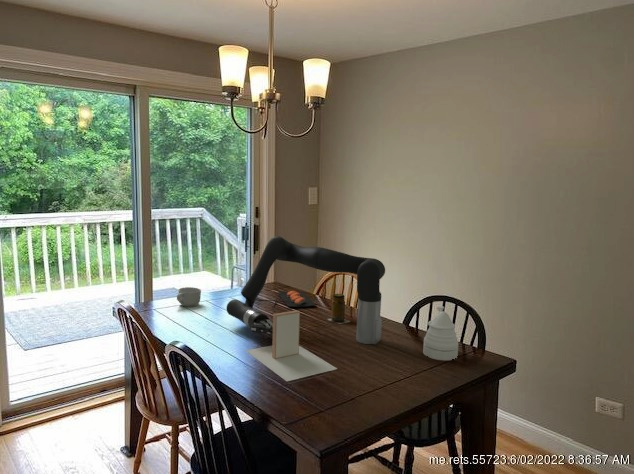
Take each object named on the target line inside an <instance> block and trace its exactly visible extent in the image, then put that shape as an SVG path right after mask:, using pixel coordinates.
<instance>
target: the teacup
mask: <svg viewBox="0 0 634 474" xmlns="http://www.w3.org/2000/svg"><path fill="white" fill-rule="evenodd" d="M201 294H202V289H201V288H198V287H193V286H192V287H191V286H190V287H189V286H188V287H187V286H186V287H181V288H179V289H178V293H177V294H176V300H177V301H178V303H179V304H180V305H181V306H183V307H185V308H191V307H192V308H193V307H196V306H197V305H198V304H200V302H201Z"/></svg>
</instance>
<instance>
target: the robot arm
mask: <svg viewBox="0 0 634 474" xmlns="http://www.w3.org/2000/svg"><path fill="white" fill-rule="evenodd" d="M276 260H277V261H283V262H290V263H297V264H301V265H303V266H307V267H309V268H312V269H317V270H319V271H324V272H326V273H327V272H329V273H344V274H345V273H346V274H347V273H349V274H353V275H356V292H357V296H358V297H357V313H356V315H357V317H356V335H355V336H356V337H355V340H356V341H357V342H358V343H360V344H364V345H377V344H378V343H379V342H381V340H382V326H383V325H382V323H383V317H381V311H382V310H381V309H382V308H381V307H382V292H381V291H380V285H381V284H380V281H381V279H383V277H384V276H385V274H386V266H385V264H384V263H383V262H382V261H380V259H377V258H373V257H361V256H356V255H351V254H348V253H345V252H341V251H337V250H333V249H329V248H326V247H325V248H324V247H319V246H306V247H305V246H301V245H298V244H295V243H293V242H290V241H288V240H287V239H285V238H283V237H282V236H279V235H277V236H273V237H271V238H269V240H268V242H267V243H266V245H265V248H264V250H263V252H262V254H261V256H260V258H259V260H258V262H257V265H256V267H255V268H254V270H253V273H252V274H251V275H250V278H248V280H247V282H246V283H245V285H244V286H243V288H242V289H241V291H240V294H241V296H242V297H243V298H244V299H245V302H243V301H241V300H238V299H231V300H229V301H228V303H227V305H226V313H228V315H230V316H232V317H234V318H235V319H237V320H239V321H240V322H242V323H243V324H245V325H246V326H247V327H248V328H250V330H251V332H250V333H255V334H256V333H257V334H263V335H265V334H270V335H272V336H273V320H272V319H271V320H270V318H269V316H268V315H267V314H265V313H263V312H261V311H260V310H258V309H255V308H253V307H254V305H255V302H256V301H257V300H256V299H258V298H257V297H258V296H259V295H260V293H261V292H262V290H263V288H264V286H265V285H266V282H267V279H268V275H269V273H270V270H271V267H272V266H273V264H274V263H275V262H276Z"/></svg>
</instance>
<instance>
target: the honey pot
mask: <svg viewBox="0 0 634 474" xmlns="http://www.w3.org/2000/svg"><path fill="white" fill-rule="evenodd" d="M436 309H437V311H438V313H437V314H436V315H435V316H434V318H433V319H432V320H429V321H428V322H427V324H428V326H429V327H428V329H427V330H426V333H425V336H424V337H423V347H422V350H423V351H422V353H423V355H424V356H425V357H427V356H428V358H430V359H433V360H437V361H452V359H454V360H456V359H458V357H457V356H458V355H459V345H460V344H459V341H458V336H457V332H456V330H455V328H456V324H454V323H453V321H452V318H451V316H450V315H449V314H448V313H447V312H446V311H444V309H445V307H444V306H442V305H437V306H436ZM455 358H456V359H455Z"/></svg>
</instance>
